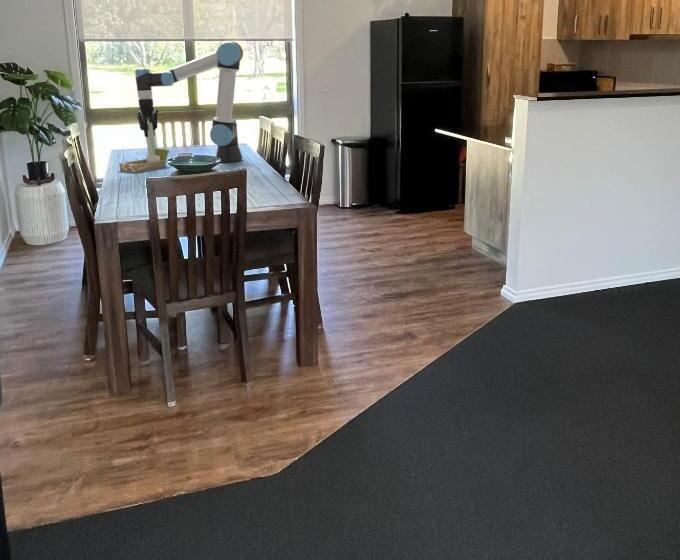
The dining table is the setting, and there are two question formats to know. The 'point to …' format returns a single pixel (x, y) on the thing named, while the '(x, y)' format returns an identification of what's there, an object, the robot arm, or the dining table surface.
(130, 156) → the dining table surface
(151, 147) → the puller
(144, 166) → the wooden tray
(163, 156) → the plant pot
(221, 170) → the dining table surface
